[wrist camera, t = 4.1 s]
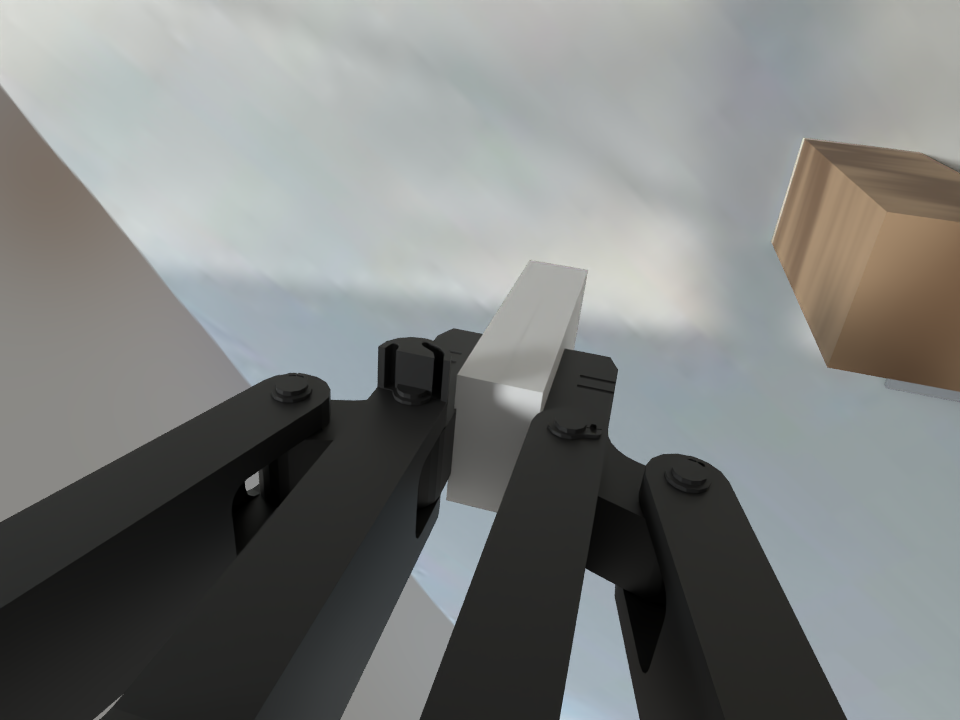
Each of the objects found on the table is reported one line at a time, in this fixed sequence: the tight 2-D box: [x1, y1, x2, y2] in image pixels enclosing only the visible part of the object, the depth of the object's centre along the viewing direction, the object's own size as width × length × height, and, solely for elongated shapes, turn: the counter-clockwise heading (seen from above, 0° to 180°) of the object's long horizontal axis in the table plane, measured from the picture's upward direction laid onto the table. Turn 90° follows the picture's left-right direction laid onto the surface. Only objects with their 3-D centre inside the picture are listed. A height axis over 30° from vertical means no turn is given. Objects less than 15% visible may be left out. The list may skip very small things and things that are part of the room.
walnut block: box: [771, 138, 960, 392], centre depth 25 cm, size 5×5×14 cm
